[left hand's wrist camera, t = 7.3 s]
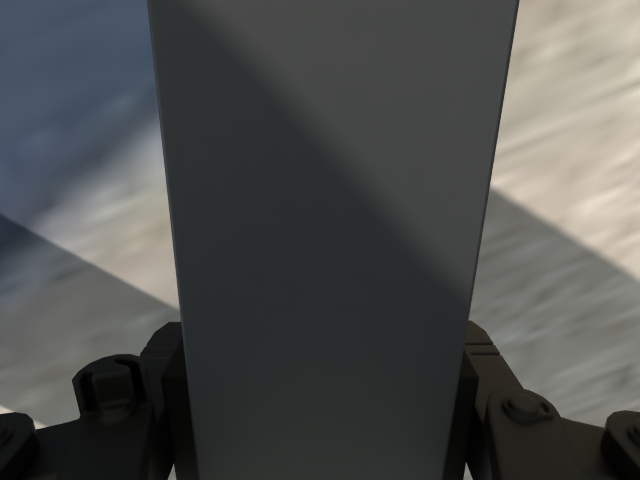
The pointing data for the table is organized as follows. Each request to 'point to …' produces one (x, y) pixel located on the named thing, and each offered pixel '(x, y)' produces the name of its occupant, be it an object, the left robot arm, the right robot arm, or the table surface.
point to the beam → (327, 223)
